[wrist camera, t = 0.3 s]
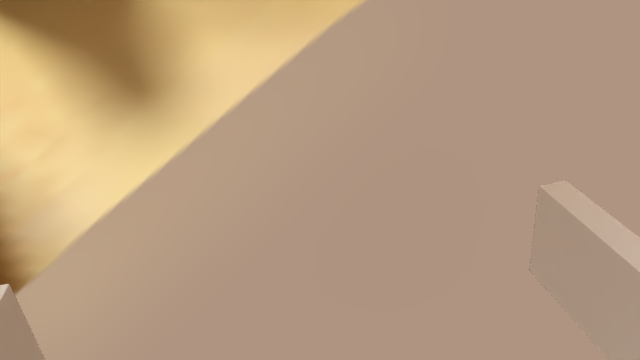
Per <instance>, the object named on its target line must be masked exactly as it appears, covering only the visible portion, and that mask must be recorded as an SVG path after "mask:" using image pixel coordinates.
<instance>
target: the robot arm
mask: <svg viewBox="0 0 640 360" xmlns="http://www.w3.org/2000/svg"><path fill="white" fill-rule="evenodd" d="M529 270H530V271H531V272H532V274H533V275H534V276H535V277H536V278H537V279H538V281H539V282H540V283H541V284H542V285H543V286H544V287H545V289H546V290H547V291H548V292H549V293H550V294H551V295H552V297H553V298H554V299H555V300H556V301H557V302H558V303H559V304H560V306H561V307H562V308H563V309H564V310H565V312H566V313H567V314H568V315H569V316H570V317H571V318H572V320H573V321H574V322H575V323H576V324H577V325H578V326H579V328H580V329H581V330H582V331H583V332H584V333H585V334H586V336H588V338H589V339H590V340H591V341H592V342H593V344H594V345H595V346H596V347H597V348H598V349H599V350H600V352H601V353H602V354H603V355H604V356H605V357H606V358H607V359H608V360H640V238H639V237H638V236H637V235H635V234H634V233H633V232H632V231H630V230H629V229H628V228H626V227H625V226H624V225H622V224H621V223H620V222H619V221H617V220H616V219H615V218H613V217H612V216H611V215H610V214H608V213H607V212H606V211H605V210H603V209H602V208H601V207H599V206H598V205H597V204H596V203H594V202H593V201H592V200H590V199H589V198H588V197H587V196H585V195H584V194H583V193H582V192H580V191H579V190H578V189H576V188H575V187H574V186H573V185H571V184H570V183H569V182H567V181H562V182H556V183H550V184H545V185H540V186H539V190H538V198H537V207H536V215H535V224H534V233H533V241H532V250H531V259H530V267H529ZM0 360H45V358H44V356H43V354H42V352H41V350H40V348H39V346H38V344H37V341H36V339H35V337H34V335H33V333H32V331H31V329H30V327H29V325H28V323H27V321H26V318H25V316H24V314H23V312H22V310H21V308H20V306H19V303H18V301H17V299H16V297H15V295H14V293H13V291H12V289H11V287H10V285H9V284H4V285H0Z"/></svg>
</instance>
